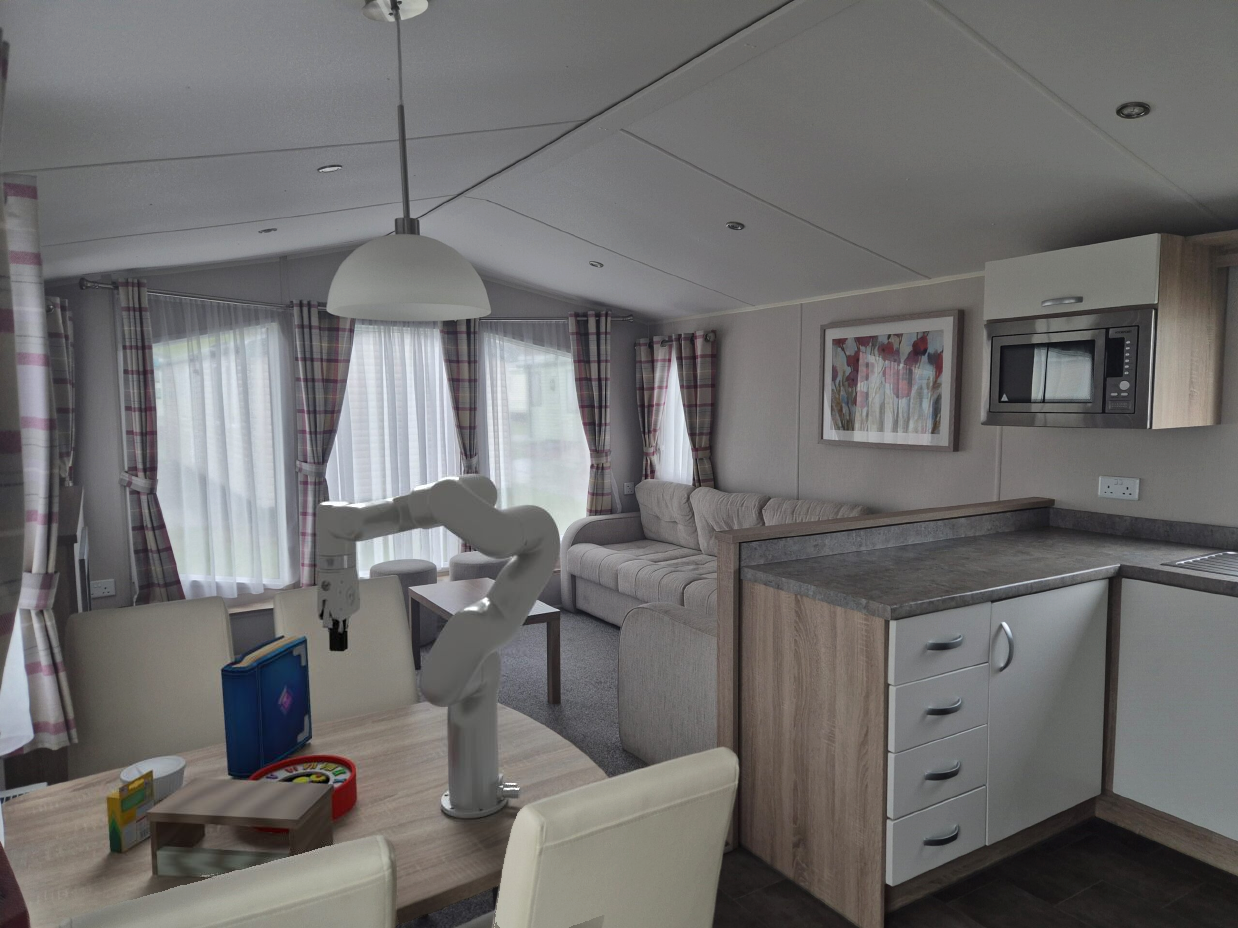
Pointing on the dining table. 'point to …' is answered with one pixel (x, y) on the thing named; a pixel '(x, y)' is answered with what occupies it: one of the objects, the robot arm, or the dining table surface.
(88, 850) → the dining table surface
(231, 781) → the walnut overhang
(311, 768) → the toy clock
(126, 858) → the dining table surface
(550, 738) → the dining table surface
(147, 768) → the ramekin
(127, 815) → the crayon box
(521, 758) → the dining table surface
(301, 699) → the book
